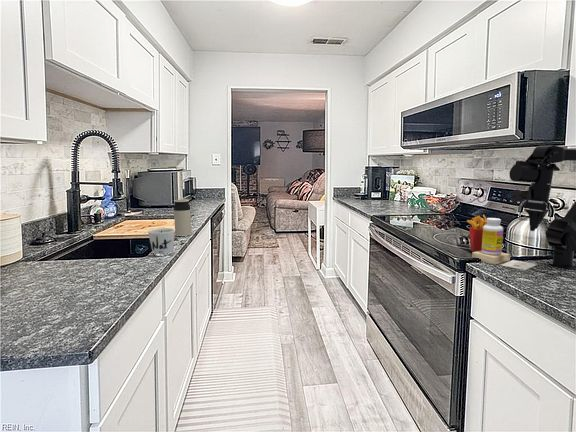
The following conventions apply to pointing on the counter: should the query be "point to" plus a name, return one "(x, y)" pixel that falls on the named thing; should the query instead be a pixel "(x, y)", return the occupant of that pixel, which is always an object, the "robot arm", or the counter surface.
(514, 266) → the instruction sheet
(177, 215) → the travel mug
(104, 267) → the counter surface
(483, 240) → the supplement bottle
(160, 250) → the mug
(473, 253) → the base block
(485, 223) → the french fries
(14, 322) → the counter surface
